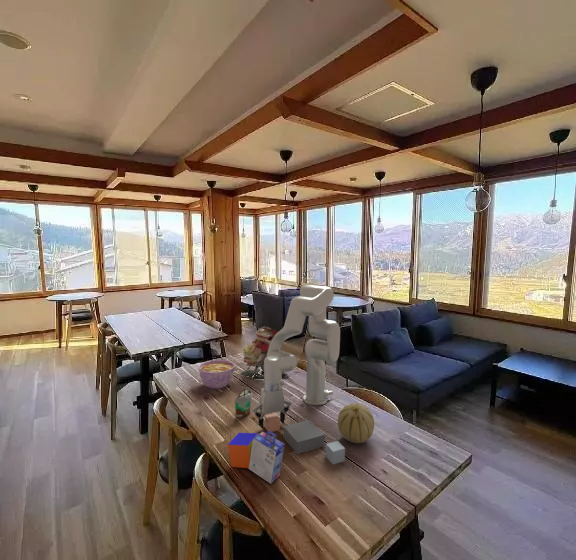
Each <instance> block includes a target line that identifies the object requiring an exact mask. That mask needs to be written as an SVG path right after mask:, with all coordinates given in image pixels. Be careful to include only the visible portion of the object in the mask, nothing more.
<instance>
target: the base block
mask: <svg viewBox="0 0 576 560" xmlns="http://www.w3.org/2000/svg"><path fill="white" fill-rule="evenodd" d="M282 428H283V431H282V433H283V437H282V438H283V439H284V440H285V441H286V442H287V443H288V445H289V446H290V447H291V449H292V450H293V451H294V452H295V454H296V455H300V454H303V453H306V452H309V451H312V450H316V449H319V448H322V447H325V434H324V433H323V431H321V430H320V428H318V427H317V426H316V425H315V423H313V422H312V421H311V420H309V419H307V420H304V421H300V422H296V423H293V424H289V425H284V426H283V427H282Z"/></svg>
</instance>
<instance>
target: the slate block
mask: <svg viewBox="0 0 576 560" xmlns="http://www.w3.org/2000/svg"><path fill="white" fill-rule="evenodd" d="M345 456H346V448H345V447H344V446H343V445H342V443H340V442H339V440H335V441H331V442H327V443H325V457H326V459H327V460H328V461H329V462H330V463H331V464H332V465H336V464H339V463H344V462H345V461H346V460H345V459H346V458H345Z"/></svg>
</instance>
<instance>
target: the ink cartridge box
mask: <svg viewBox="0 0 576 560" xmlns="http://www.w3.org/2000/svg"><path fill="white" fill-rule="evenodd" d="M285 444H286V443H284V442H282V441H280V440H279V439H277V434H276V433H274V431H273V432H271V431H269V430H268V431H267V432H265V431H261V432H259V433H258V435H257V436H256V437H254V438H253V443H252V450H251V457H250V463H249V468H248V470H249V471H251V472H253V473H254V474H255V475H257V476H259V478H262V479H263V480H264V481H266V482H267V483H269V484H272V483H273V482H274V481H276V480H277V478H279V477H280V475H281V469H282V468H281V467H282V464H283V463H282V462H283V458H284V457H283V456H284V452H285V451H284V450H285Z"/></svg>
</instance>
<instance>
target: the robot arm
mask: <svg viewBox="0 0 576 560" xmlns="http://www.w3.org/2000/svg"><path fill="white" fill-rule="evenodd" d="M334 297H335V296H334V291H333V289H332V288H331V287H329V286H327V285H326V286H325V285H324V286H323V285H315V284H304V285H301V287H300V290H299V296H295V297H293V298H292V299H291V301H290V305H289V306H288V311H287V315H286V319H285V321H284V326H283V327H282V328H281V329H280V330H279V331H277V332H278V333H277V334H276V335H275V336H274V338H273V339H272V340H271V342H270V345H269V349H268V352H267V357H266V358H265V359H264V373H263V375H264V382H263V387H262V388H261V390H260V396H259V404H257V405H255V406H254V407H252V412H253V413H254V415H255V416H256V417H257V418H258V426H259V427H260V428H261V429H264V423H265V419H264V418H265V415H270V414H275V413H279V412H280V413H279V418H280V423H281V424H282V425H283V424H285V421H286V415H287V413H288V411H289V410H290V407H291V404H292V403H291V401H290V400H286V399H285V395H284V394H285V393H284V389H283V387H282V386H283V385H285V381H284V380H282V378H283V377H282V375H283V374H282V372H284V373H287V372H291V371H293V370H295V369H296V368H297V366H298V357H296V355H295V354H293V353H289V352H286V351H284V352H282V351H283V350H282V351H279V350H281V347H282V344H283V343H284V342H285V341H286V340H287V339H289V338H292V337H294V336H298V335H300V334H302V333H303V329H304V325H305V322H306V318H307V317H308V333H309V335H310V336H312V337H315V338H312V339H311V338H310V339H309V340H307V341H306V342H305V346H304V352H305V358H306V384H305V385H306V386H305V389H306V390H305V394H304V395H302V400H303V402H304V403H306V404H307V405H311V406H322V405H325V404H326V403H328V401H329V399H328V396H333V395H334V391H333V390H328V389H326V363H325V362H328V363H335V362H337V360H338V358H339V356H340V348H341V347H340V346H341V345H340V343H341V327H340V325H339V323H338V322H336V321H334V320H331V319H327V308H328V306H330V304H331V303H332V301H333V300H334ZM318 338H319V339H318ZM258 410H260V411H259V412H258Z"/></svg>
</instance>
